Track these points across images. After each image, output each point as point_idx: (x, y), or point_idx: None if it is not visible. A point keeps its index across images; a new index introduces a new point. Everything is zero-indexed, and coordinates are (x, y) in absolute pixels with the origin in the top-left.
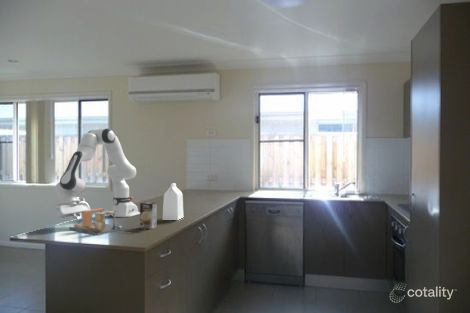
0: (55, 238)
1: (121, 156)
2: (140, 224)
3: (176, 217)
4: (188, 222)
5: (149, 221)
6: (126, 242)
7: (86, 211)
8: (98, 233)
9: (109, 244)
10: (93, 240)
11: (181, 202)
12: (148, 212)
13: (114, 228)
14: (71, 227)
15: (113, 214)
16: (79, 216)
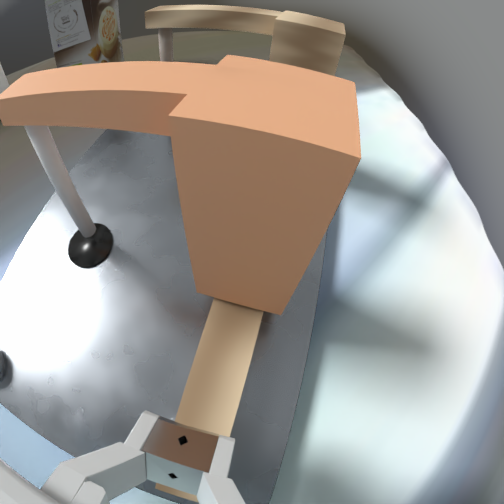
0: (499, 318)
1: None
2: None
3: (3, 79)
4: (36, 64)
5: (117, 41)
6: (341, 63)
7: (348, 81)
8: None
9: (388, 87)
10: (400, 131)
11: None
12: (112, 8)
13: None
14: (255, 498)
15: (171, 31)
16: (120, 484)
